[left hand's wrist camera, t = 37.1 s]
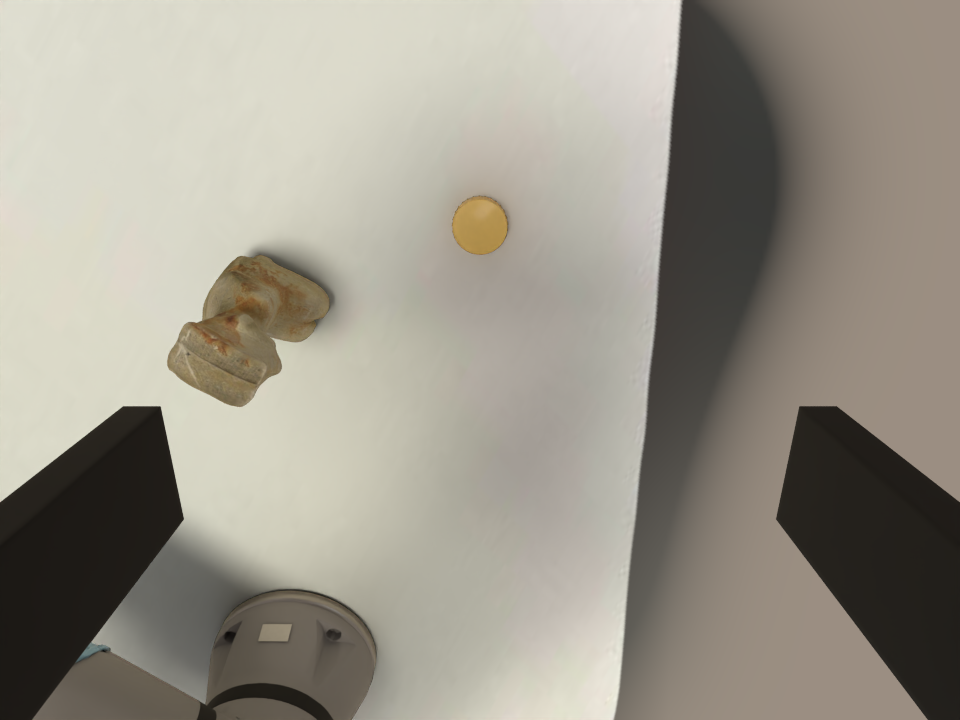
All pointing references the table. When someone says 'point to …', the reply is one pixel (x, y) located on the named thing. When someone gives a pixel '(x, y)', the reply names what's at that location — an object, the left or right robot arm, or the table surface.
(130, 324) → the table surface
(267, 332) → the sculpture
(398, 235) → the table surface
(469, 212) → the cap
